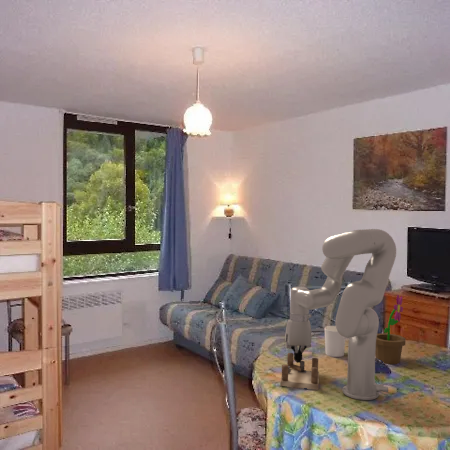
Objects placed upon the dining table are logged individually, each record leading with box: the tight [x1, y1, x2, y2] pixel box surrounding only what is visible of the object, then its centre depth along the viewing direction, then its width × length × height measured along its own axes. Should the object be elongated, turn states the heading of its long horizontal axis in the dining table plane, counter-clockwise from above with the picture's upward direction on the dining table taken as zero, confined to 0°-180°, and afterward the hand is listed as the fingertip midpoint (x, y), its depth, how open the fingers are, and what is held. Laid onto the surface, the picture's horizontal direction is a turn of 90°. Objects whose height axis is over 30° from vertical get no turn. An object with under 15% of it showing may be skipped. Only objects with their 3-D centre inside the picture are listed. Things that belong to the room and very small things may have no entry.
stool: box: [279, 357, 320, 391], centre depth 183 cm, size 14×14×8 cm
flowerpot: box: [375, 294, 406, 365], centre depth 209 cm, size 14×14×30 cm
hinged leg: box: [286, 352, 306, 372], centre depth 190 cm, size 8×2×6 cm, turn 43°
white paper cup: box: [324, 325, 347, 358], centre depth 217 cm, size 10×10×12 cm
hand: (297, 361), depth 194 cm, fingers closed
